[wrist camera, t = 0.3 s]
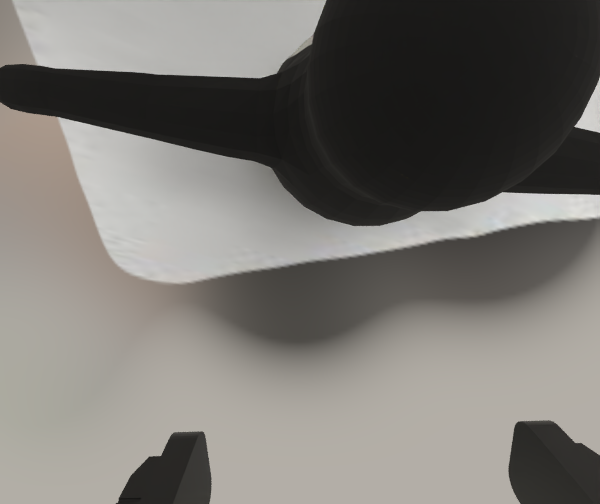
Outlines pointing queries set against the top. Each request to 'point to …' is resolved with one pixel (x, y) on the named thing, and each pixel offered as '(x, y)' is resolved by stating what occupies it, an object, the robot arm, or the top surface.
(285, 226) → the top surface
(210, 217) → the top surface
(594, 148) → the toy
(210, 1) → the top surface
